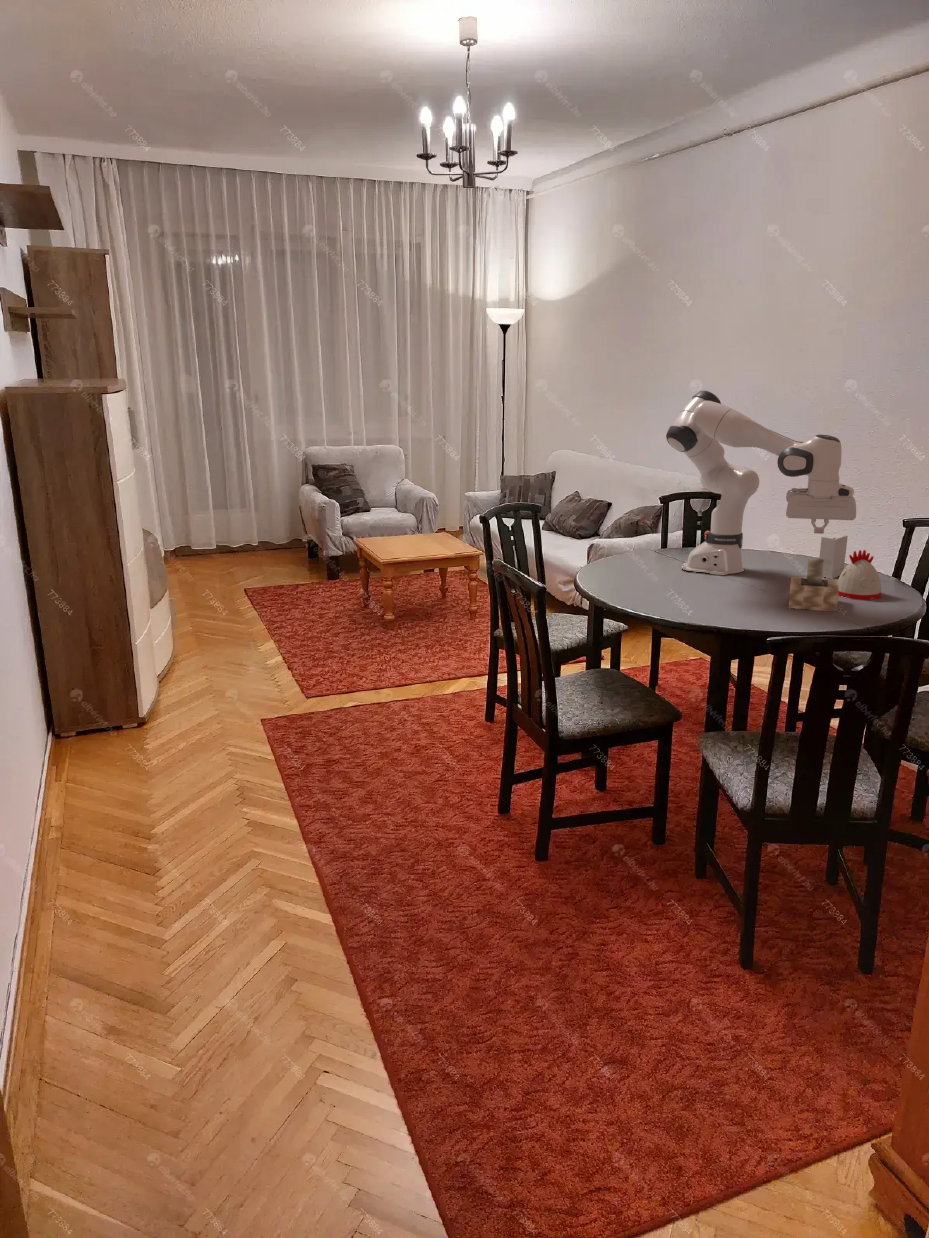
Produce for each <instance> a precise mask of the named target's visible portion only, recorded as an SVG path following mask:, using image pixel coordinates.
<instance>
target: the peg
mask: <svg viewBox="0 0 929 1238" xmlns="http://www.w3.org/2000/svg"><path fill="white" fill-rule="evenodd" d="M823 562H824V560H823V559H819V557H817V558H815V557H811V558H808V559H807V571H806V577H807V582H806V583H807V584H822V578H823V577H822V574H823Z"/></svg>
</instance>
